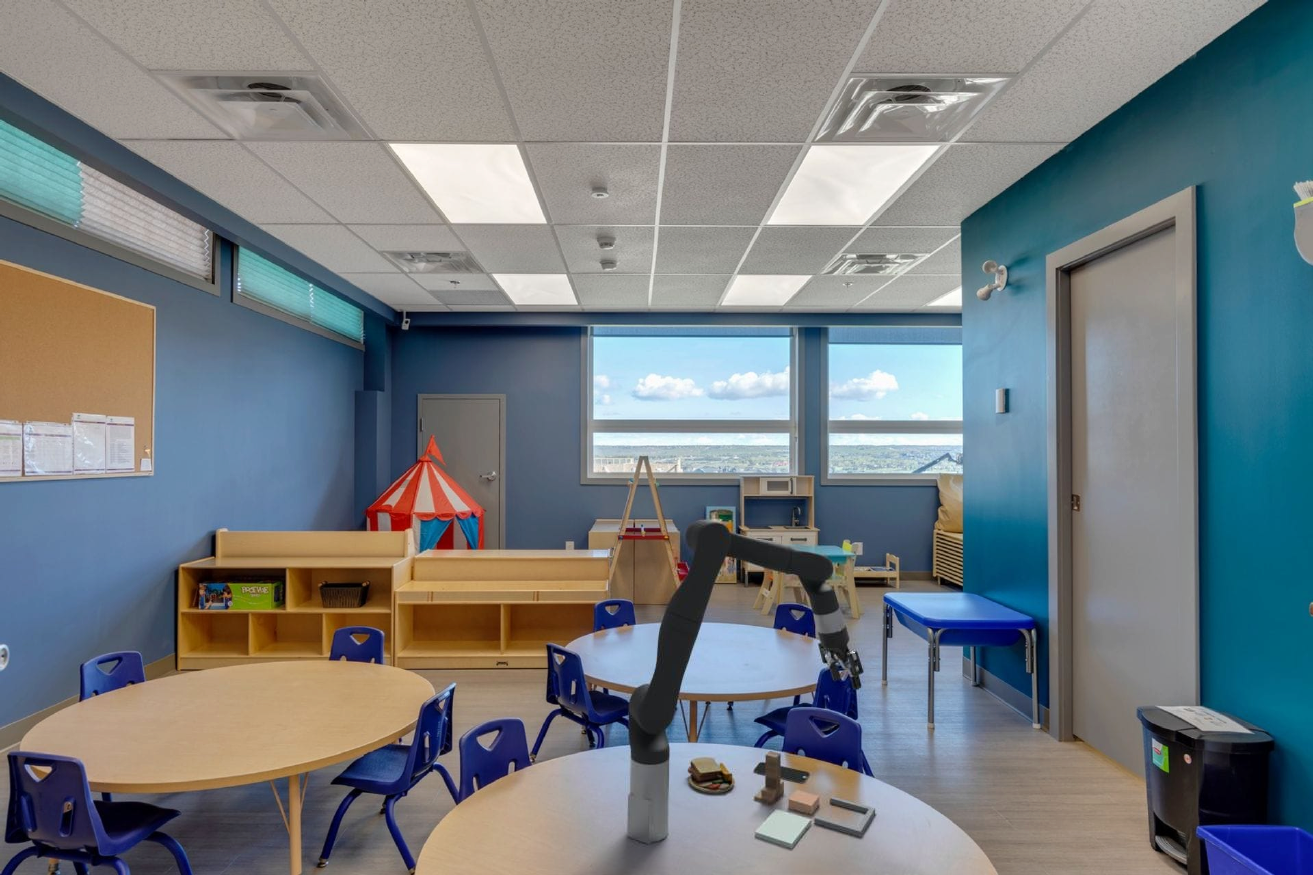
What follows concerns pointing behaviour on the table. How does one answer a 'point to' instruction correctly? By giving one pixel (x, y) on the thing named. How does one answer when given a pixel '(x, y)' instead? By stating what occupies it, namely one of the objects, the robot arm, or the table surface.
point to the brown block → (771, 780)
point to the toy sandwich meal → (709, 776)
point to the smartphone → (785, 773)
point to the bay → (847, 828)
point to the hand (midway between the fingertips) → (847, 683)
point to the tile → (803, 801)
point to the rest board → (783, 828)
